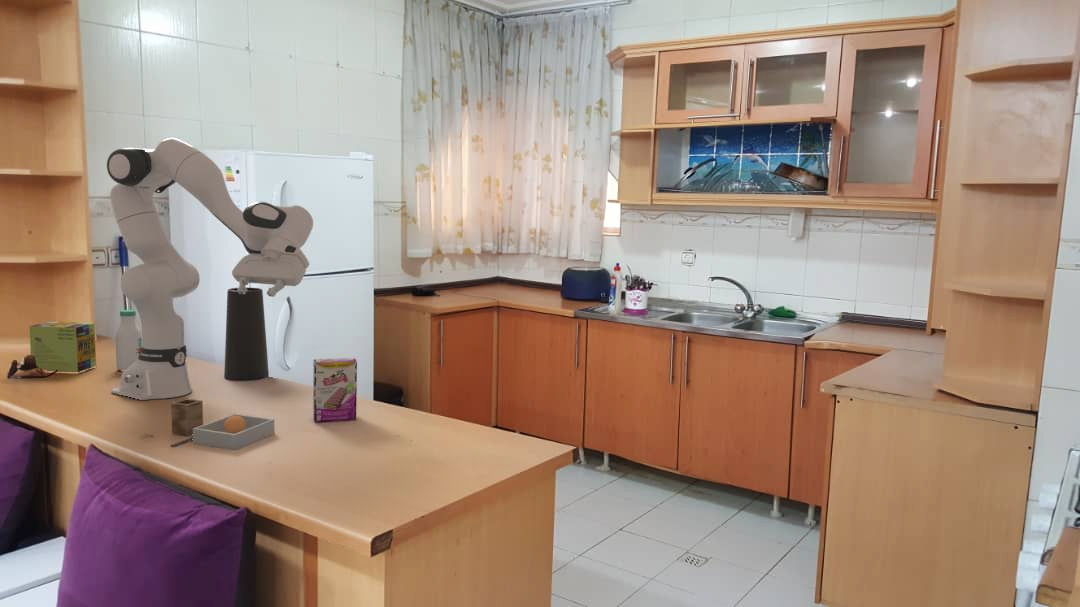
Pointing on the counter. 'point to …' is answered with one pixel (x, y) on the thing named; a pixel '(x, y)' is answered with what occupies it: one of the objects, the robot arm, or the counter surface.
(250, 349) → the vase
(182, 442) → the line
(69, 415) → the counter surface
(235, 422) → the ball
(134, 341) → the milk bottle
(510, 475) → the counter surface
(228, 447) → the tray
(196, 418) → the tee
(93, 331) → the protein box
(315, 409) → the candy bar box
